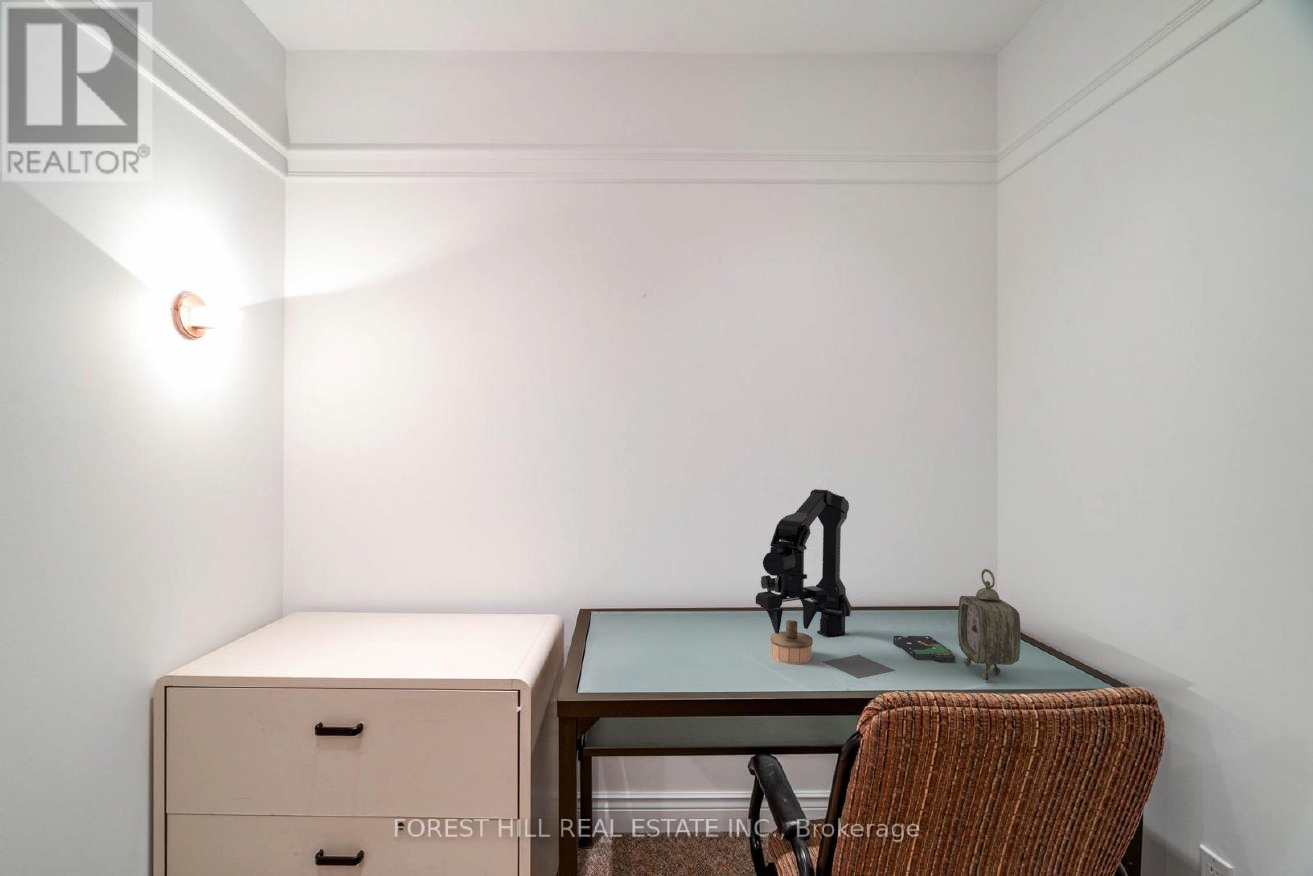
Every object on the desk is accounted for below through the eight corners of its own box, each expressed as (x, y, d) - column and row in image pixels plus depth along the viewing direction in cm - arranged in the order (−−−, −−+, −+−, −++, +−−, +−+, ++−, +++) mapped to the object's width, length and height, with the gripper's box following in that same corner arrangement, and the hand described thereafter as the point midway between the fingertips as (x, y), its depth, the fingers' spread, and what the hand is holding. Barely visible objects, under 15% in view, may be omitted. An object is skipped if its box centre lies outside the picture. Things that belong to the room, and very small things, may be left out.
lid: (794, 633, 169) (794, 614, 169) (821, 644, 159) (821, 624, 159) (762, 638, 164) (762, 619, 164) (788, 650, 155) (788, 630, 155)
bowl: (793, 650, 168) (793, 633, 168) (819, 662, 160) (819, 644, 160) (763, 656, 164) (763, 638, 164) (787, 668, 155) (788, 650, 155)
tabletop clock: (957, 662, 161) (958, 563, 161) (995, 664, 160) (996, 564, 160) (980, 684, 147) (982, 575, 147) (1022, 686, 146) (1023, 577, 146)
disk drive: (892, 645, 176) (916, 664, 161) (892, 635, 176) (916, 653, 161) (929, 645, 176) (956, 664, 161) (929, 635, 176) (956, 653, 161)
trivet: (858, 657, 164) (858, 654, 164) (895, 672, 153) (895, 670, 153) (822, 664, 159) (822, 661, 159) (858, 680, 148) (858, 678, 148)
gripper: (800, 560, 173) (799, 618, 173) (743, 566, 164) (742, 626, 165) (829, 568, 163) (828, 629, 163) (769, 575, 155) (768, 639, 155)
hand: (791, 631), depth 162 cm, fingers open, 9 cm apart
